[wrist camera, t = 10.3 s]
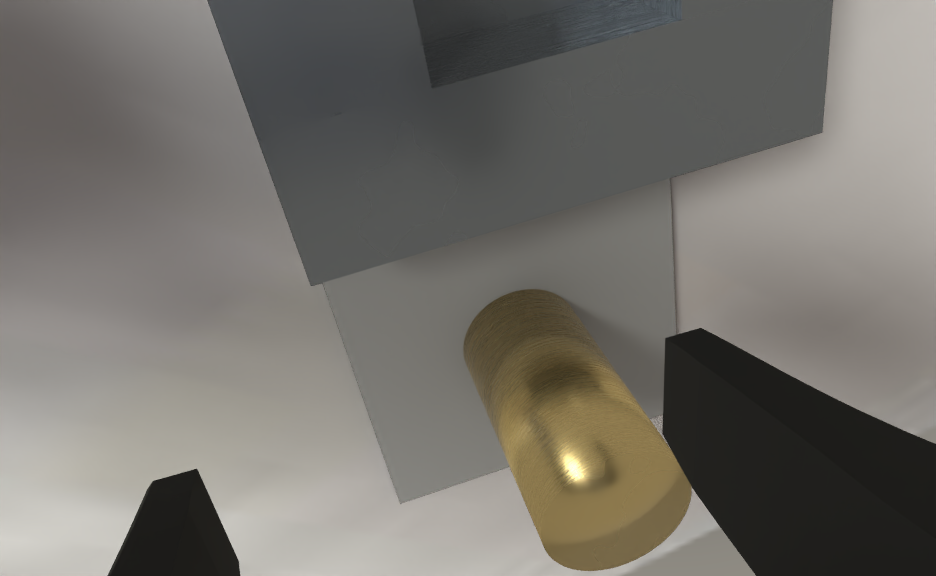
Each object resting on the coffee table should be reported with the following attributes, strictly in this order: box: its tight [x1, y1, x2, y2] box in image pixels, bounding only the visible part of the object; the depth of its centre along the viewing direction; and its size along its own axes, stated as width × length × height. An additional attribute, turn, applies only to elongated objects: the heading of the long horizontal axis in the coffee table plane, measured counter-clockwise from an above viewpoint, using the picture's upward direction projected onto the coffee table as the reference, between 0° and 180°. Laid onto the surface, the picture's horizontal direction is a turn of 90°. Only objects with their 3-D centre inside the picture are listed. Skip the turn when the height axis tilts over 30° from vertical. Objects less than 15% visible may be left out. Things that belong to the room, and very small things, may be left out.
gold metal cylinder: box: [463, 289, 691, 571], centre depth 20 cm, size 4×4×7 cm
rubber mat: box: [323, 178, 676, 504], centre depth 23 cm, size 10×10×1 cm
